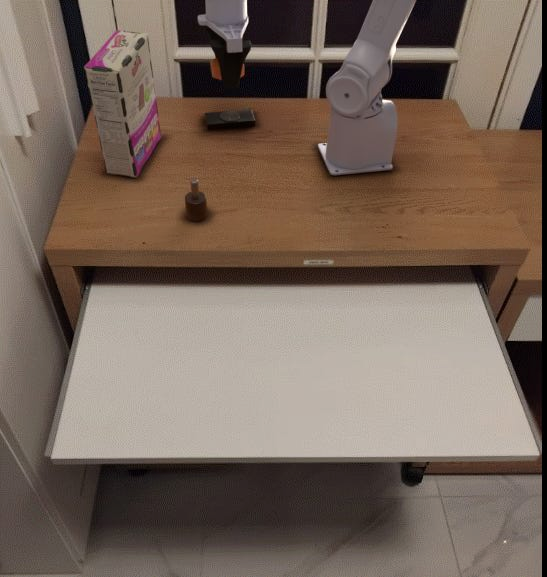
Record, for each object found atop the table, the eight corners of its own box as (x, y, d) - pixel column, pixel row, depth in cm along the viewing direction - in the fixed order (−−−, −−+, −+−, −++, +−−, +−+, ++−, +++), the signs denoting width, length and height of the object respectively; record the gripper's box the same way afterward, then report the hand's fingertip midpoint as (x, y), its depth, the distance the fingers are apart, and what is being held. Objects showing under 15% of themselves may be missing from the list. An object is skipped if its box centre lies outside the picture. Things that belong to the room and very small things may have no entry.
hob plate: (251, 114, 104) (251, 108, 103) (255, 125, 101) (255, 119, 100) (204, 118, 102) (204, 112, 102) (207, 129, 100) (207, 123, 99)
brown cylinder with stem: (205, 207, 86) (203, 173, 82) (208, 220, 84) (206, 185, 80) (185, 209, 86) (182, 175, 82) (187, 222, 84) (184, 188, 80)
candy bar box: (131, 133, 99) (115, 28, 87) (162, 138, 98) (150, 32, 86) (103, 174, 91) (81, 65, 79) (136, 179, 90) (120, 69, 79)
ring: (240, 64, 97) (240, 54, 96) (246, 79, 94) (246, 69, 93) (209, 66, 97) (208, 56, 95) (213, 81, 93) (213, 71, 92)
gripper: (190, -34, 91) (195, 57, 100) (203, 6, 81) (207, 104, 90) (239, -36, 92) (239, 55, 101) (257, 3, 82) (256, 100, 91)
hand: (228, 77), depth 96 cm, fingers closed on ring, 5 cm apart
